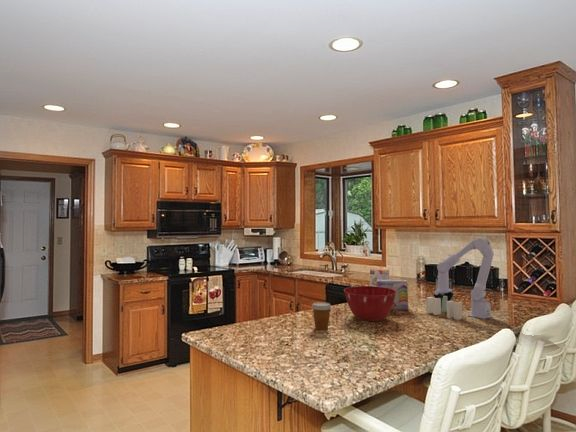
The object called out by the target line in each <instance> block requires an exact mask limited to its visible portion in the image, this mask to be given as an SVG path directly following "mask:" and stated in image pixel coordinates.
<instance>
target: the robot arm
mask: <svg viewBox="0 0 576 432" xmlns="http://www.w3.org/2000/svg"><path fill="white" fill-rule="evenodd" d="M472 250H478V251H479V252H480V254H481V255H482V256H483V257H482V259H481V264H480V267H479V271H478V275H477V278H476V282H475V284H474V287H473V289H471V291H470V298H471V299H470V304H471V309H470V314H468V315H467V316H469V317H473V318H477V319H481V320H482V319H483V320H484V319H489V318H492V317H493V316H492V305H491V303H490V302H489V301H486V298H485V297H486V295H487V291H486V290H487V289H486V287H487V286H486V284H487V281H488V277H489V274H490V270H491V266H492V262H493V259H494V251H493V248H492V246H491V242H490V241H489V240H488V238H486V237H483V236H482V237H477V238H474V240H471V241H470V242H468V243H467V244H466V245H465V246H464V247H462V248H461V249H460V250H459V251H457V252H456V253H450V254H448V256H447V257H446V258H445V259H443V260H442V261H441V262H439V263H438V264H437V266H436V269H437V271H438V273H437V274H438V275H437V278H438V289H437V290H436V289H435V290H434V291H433V297H434V299H435V298H441V306H442V299H443V295H441V294H443V293H444V296H447V301H451V298H452V296H453V297H454V293H452V292H453V291H454V290H453V289H454V288H453V289H449V271H450V269H452V268H453V267H454V266H456V265H457V264H458V263H459V262H460V260H461V258H462V257H463V256H464V255H466V254H467V253H469V252H471V251H472Z"/></svg>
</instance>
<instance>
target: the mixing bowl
mask: <svg viewBox="0 0 576 432" xmlns="http://www.w3.org/2000/svg"><path fill="white" fill-rule="evenodd" d="M343 292H344V295H345V299H346V301H347V305H348V307H349V310H350V311H351V313H352V314H353V316H354V317H356V318H357V319H358V320H360V321H363V322H364V321H365V322H378V321H382V320H383V319H385V318H386V317H387V316H388V315H389V314H390V311H391V310H392V309H391V307H392V305H393V302H394V299H395V295H396V293H397V292H396V291H395V290H393V289H390V288H384V287H375V286H370V285H364V286H363V285H361V286H360V285H357V286H350V287H346V288H344V289H343Z"/></svg>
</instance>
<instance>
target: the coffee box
mask: <svg viewBox="0 0 576 432" xmlns="http://www.w3.org/2000/svg"><path fill="white" fill-rule="evenodd" d="M453 284H454V283H453V279H452V278H449V289H454V287H453ZM437 289H438V277H437V278H435V291H436V290H437ZM452 293H453V292H452ZM453 294H454V293H453ZM441 295H443V296H444V293H443V294H441ZM451 300H453V301H454V295H453V296H452V298H451Z"/></svg>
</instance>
